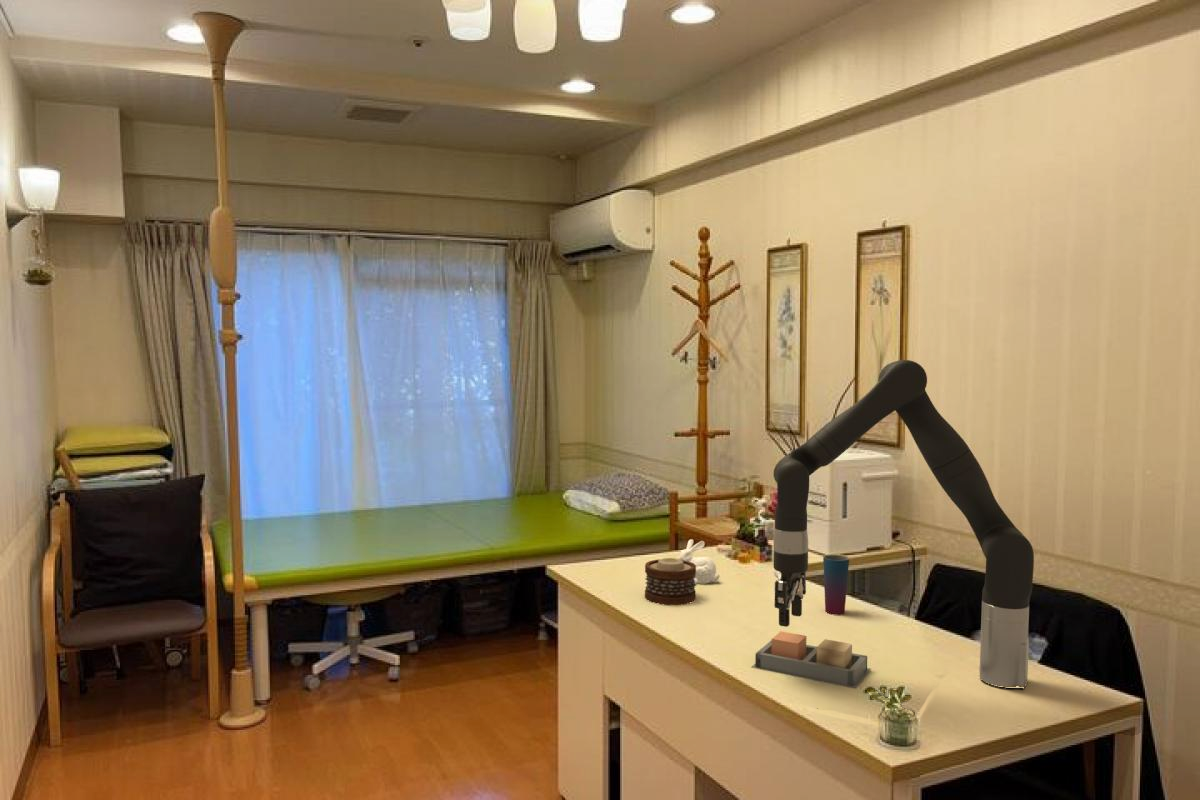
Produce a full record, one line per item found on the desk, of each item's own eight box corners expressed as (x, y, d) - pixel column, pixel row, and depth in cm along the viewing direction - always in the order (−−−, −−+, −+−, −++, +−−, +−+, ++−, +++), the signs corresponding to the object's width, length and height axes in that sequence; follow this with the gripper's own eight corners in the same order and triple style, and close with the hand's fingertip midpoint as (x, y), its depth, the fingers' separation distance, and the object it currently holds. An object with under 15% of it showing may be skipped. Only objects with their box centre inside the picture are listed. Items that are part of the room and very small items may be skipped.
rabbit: (677, 582, 271) (677, 543, 270) (685, 575, 280) (685, 537, 279) (716, 586, 267) (717, 546, 266) (723, 578, 275) (724, 540, 275)
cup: (830, 616, 238) (831, 561, 237) (817, 609, 245) (818, 555, 244) (852, 615, 240) (854, 559, 239) (839, 607, 246) (840, 553, 245)
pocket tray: (871, 673, 198) (871, 655, 198) (855, 692, 187) (855, 674, 187) (771, 654, 210) (771, 637, 209) (750, 671, 198) (751, 653, 198)
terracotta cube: (805, 662, 202) (806, 635, 201) (797, 670, 197) (798, 643, 196) (780, 657, 205) (780, 631, 204) (771, 665, 200) (771, 638, 199)
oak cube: (851, 670, 197) (852, 643, 196) (843, 679, 191) (844, 652, 191) (824, 665, 200) (825, 639, 199) (816, 674, 195) (816, 647, 194)
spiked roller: (670, 551, 265) (707, 561, 254) (669, 587, 266) (707, 598, 254) (633, 559, 255) (670, 569, 244) (633, 596, 256) (670, 608, 245)
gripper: (797, 557, 191) (796, 632, 192) (817, 544, 203) (816, 614, 204) (763, 553, 195) (763, 627, 196) (785, 540, 207) (784, 610, 208)
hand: (790, 620), depth 200 cm, fingers open, 8 cm apart
